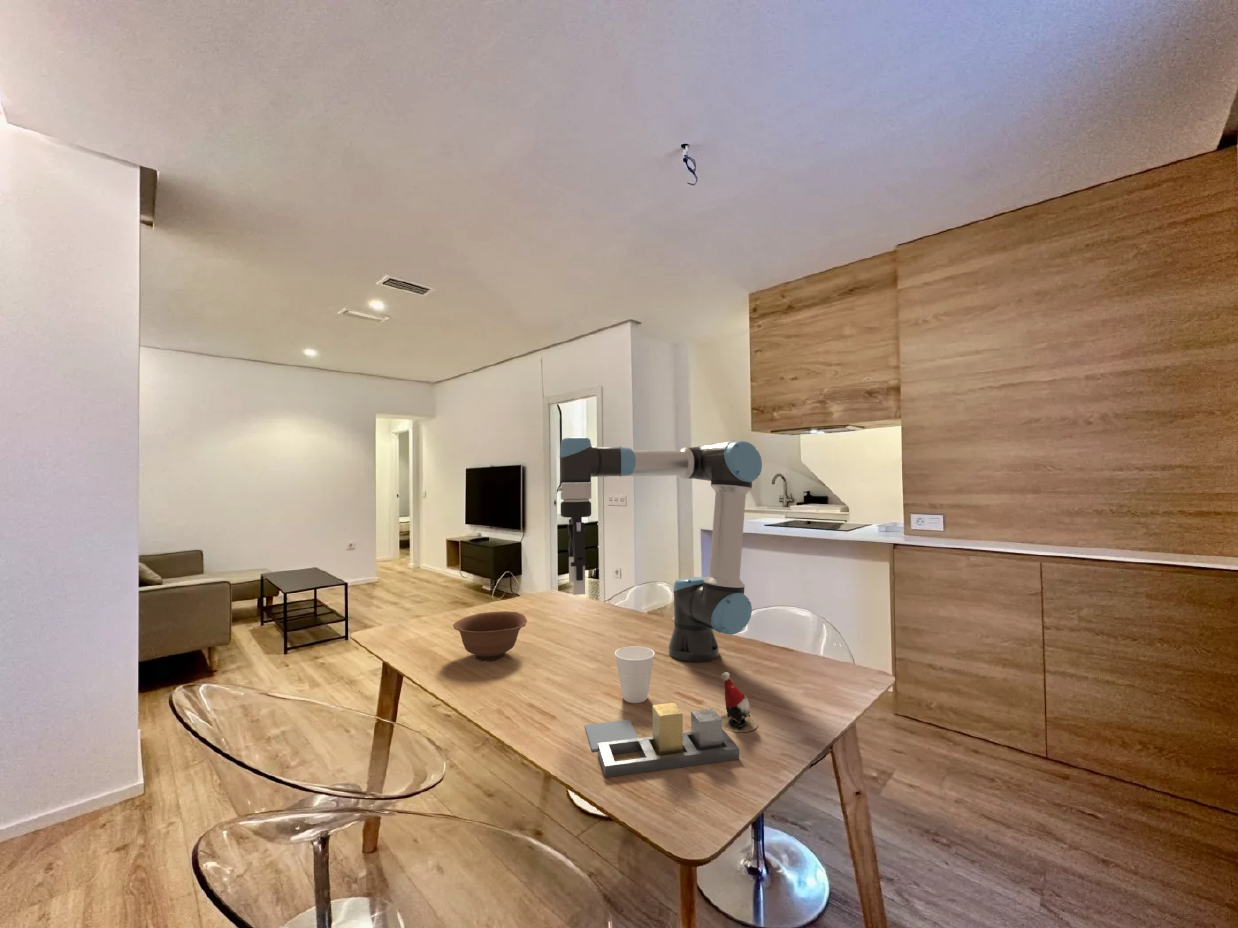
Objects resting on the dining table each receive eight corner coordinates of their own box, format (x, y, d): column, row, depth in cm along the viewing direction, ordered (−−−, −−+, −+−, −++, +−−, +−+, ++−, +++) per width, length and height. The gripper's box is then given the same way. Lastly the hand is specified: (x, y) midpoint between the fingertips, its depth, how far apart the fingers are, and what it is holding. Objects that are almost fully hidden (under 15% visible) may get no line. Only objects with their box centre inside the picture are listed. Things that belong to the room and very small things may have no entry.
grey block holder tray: (722, 737, 101) (721, 727, 101) (739, 759, 93) (739, 748, 93) (597, 753, 96) (597, 742, 96) (605, 777, 88) (605, 766, 88)
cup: (659, 692, 123) (659, 648, 123) (649, 710, 114) (648, 662, 114) (622, 687, 126) (622, 644, 127) (609, 704, 117) (608, 657, 117)
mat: (629, 721, 108) (629, 719, 108) (641, 745, 98) (641, 743, 98) (584, 726, 106) (584, 724, 106) (591, 751, 96) (591, 749, 96)
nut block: (675, 748, 97) (674, 702, 97) (683, 761, 93) (682, 713, 93) (652, 751, 96) (652, 704, 96) (659, 764, 92) (659, 715, 92)
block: (713, 743, 99) (712, 708, 99) (722, 756, 94) (722, 719, 95) (691, 746, 98) (691, 711, 98) (700, 759, 93) (699, 721, 94)
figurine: (776, 709, 105) (736, 679, 103) (752, 750, 103) (710, 720, 101) (756, 694, 113) (718, 665, 111) (732, 732, 111) (694, 703, 109)
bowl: (542, 652, 153) (541, 616, 153) (488, 676, 134) (488, 635, 135) (492, 640, 165) (492, 607, 165) (436, 660, 146) (436, 623, 146)
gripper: (558, 499, 132) (558, 578, 131) (563, 503, 107) (564, 600, 106) (585, 498, 133) (586, 577, 132) (597, 502, 108) (598, 599, 108)
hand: (576, 587), depth 119 cm, fingers open, 13 cm apart
